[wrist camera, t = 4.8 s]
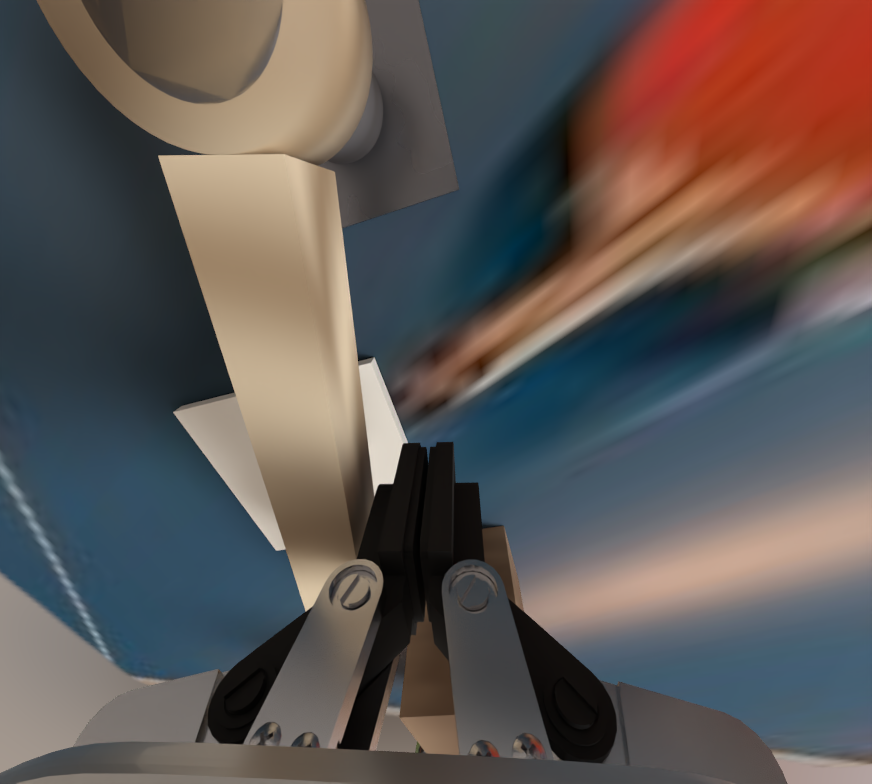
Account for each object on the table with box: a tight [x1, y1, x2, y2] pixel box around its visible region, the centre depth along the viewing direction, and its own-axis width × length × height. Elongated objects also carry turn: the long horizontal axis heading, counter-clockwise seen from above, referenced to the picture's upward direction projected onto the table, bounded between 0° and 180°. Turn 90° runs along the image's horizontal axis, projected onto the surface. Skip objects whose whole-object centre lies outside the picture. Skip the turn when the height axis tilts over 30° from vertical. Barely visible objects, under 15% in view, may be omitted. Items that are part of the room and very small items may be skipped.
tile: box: [173, 357, 408, 551], centre depth 17 cm, size 10×10×1 cm
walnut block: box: [400, 526, 524, 755], centre depth 17 cm, size 5×5×8 cm
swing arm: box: [37, 0, 383, 611], centre depth 11 cm, size 20×4×6 cm, turn 0°
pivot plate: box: [319, 0, 459, 228], centre depth 10 cm, size 6×6×1 cm
